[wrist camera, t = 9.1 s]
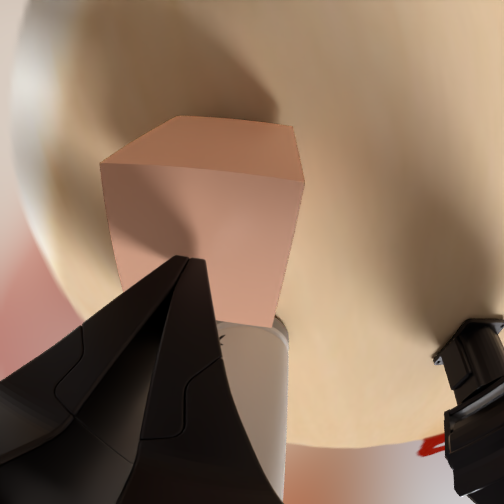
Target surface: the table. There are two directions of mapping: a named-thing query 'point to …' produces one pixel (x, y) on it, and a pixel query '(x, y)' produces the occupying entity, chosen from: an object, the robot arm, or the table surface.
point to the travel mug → (260, 389)
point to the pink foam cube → (209, 207)
